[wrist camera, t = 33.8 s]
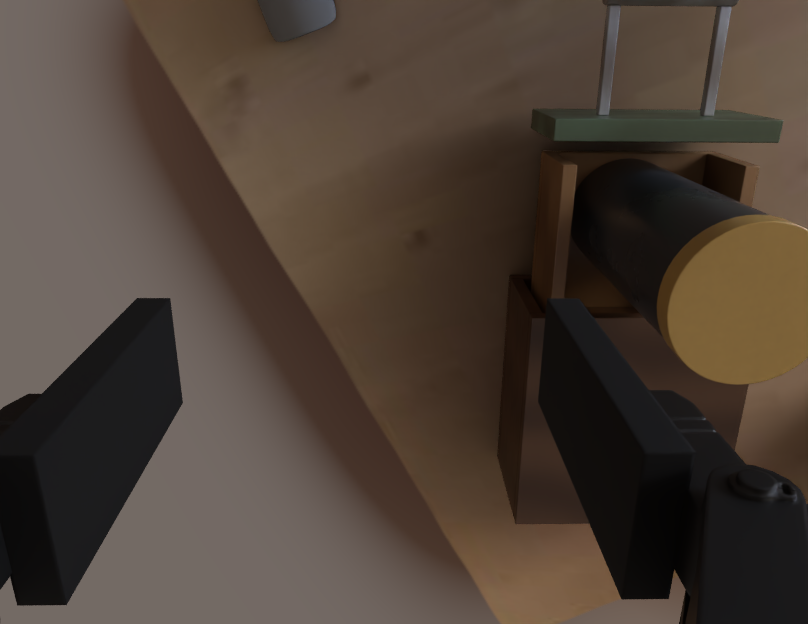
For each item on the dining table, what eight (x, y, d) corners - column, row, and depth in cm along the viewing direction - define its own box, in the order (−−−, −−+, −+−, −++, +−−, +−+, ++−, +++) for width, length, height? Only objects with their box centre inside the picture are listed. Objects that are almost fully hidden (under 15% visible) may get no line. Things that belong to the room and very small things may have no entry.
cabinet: (509, 274, 48) (531, 317, 40) (703, 275, 48) (762, 317, 40) (497, 456, 53) (515, 524, 45) (672, 455, 53) (719, 522, 46)
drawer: (541, -22, 40) (568, -33, 34) (752, -19, 40) (813, -31, 35) (517, 311, 48) (536, 348, 42) (695, 311, 48) (738, 348, 42)
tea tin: (552, 182, 43) (648, 260, 27) (664, 138, 43) (828, 193, 27) (584, 282, 46) (688, 407, 30) (690, 243, 45) (854, 350, 29)
